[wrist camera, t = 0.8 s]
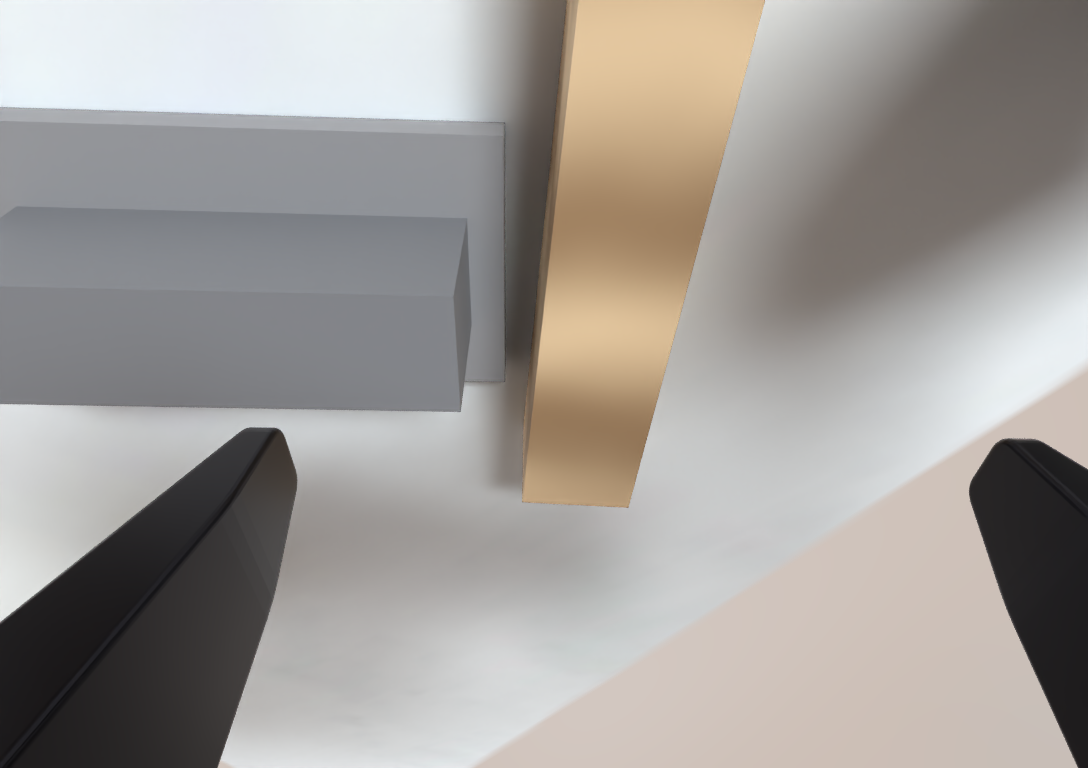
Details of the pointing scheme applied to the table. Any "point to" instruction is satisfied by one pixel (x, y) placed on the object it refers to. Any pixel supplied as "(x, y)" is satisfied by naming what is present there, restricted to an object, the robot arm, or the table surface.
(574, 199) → the beam
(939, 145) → the table surface
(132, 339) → the grey stepped block
